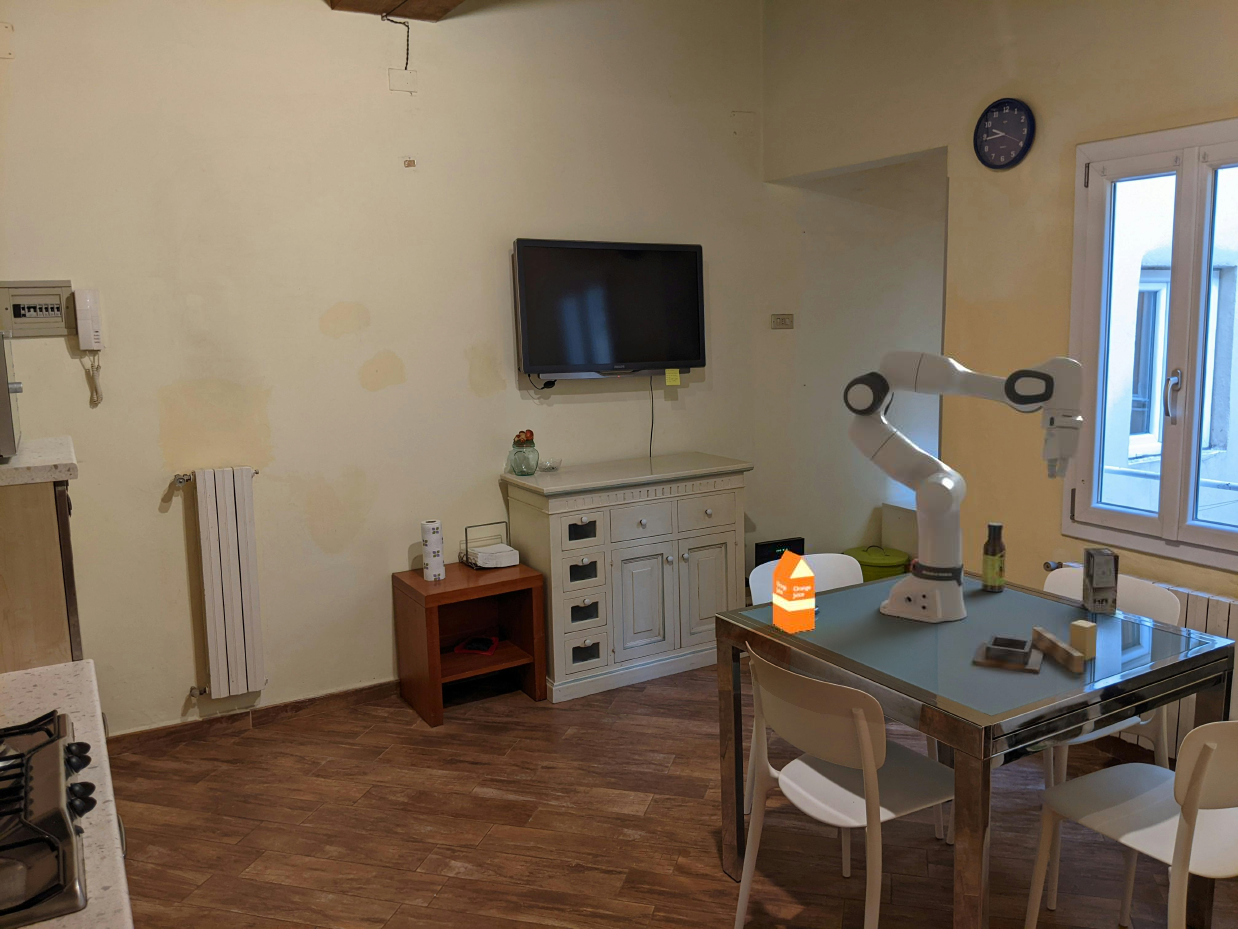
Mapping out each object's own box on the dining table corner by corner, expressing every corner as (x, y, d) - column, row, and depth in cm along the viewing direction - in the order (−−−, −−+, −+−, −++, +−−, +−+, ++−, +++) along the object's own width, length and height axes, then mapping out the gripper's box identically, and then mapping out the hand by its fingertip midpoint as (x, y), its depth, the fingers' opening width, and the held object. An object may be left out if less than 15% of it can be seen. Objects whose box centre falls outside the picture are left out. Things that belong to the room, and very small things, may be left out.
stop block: (1069, 655, 214) (1070, 622, 213) (1079, 652, 216) (1080, 619, 215) (1085, 660, 211) (1086, 627, 210) (1095, 657, 213) (1097, 624, 212)
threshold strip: (1031, 643, 223) (1032, 627, 223) (1040, 642, 223) (1040, 627, 223) (1074, 672, 203) (1075, 655, 203) (1083, 672, 203) (1084, 655, 203)
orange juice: (788, 633, 235) (788, 558, 233) (772, 624, 244) (772, 551, 241) (815, 629, 238) (815, 555, 235) (798, 620, 246) (798, 548, 243)
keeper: (972, 664, 211) (972, 648, 210) (981, 645, 223) (981, 630, 222) (1038, 673, 204) (1039, 657, 203) (1044, 653, 216) (1044, 638, 215)
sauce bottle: (1003, 593, 265) (1005, 526, 262) (980, 591, 268) (982, 525, 265) (1005, 588, 270) (1007, 522, 268) (983, 585, 274) (985, 521, 271)
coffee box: (1117, 614, 244) (1120, 555, 241) (1091, 613, 245) (1093, 554, 243) (1106, 604, 252) (1108, 547, 250) (1081, 603, 254) (1083, 547, 251)
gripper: (1038, 425, 237) (1033, 477, 237) (1056, 418, 217) (1051, 475, 217) (1064, 427, 236) (1059, 480, 236) (1085, 420, 216) (1080, 478, 216)
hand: (1055, 478), depth 226 cm, fingers open, 8 cm apart
